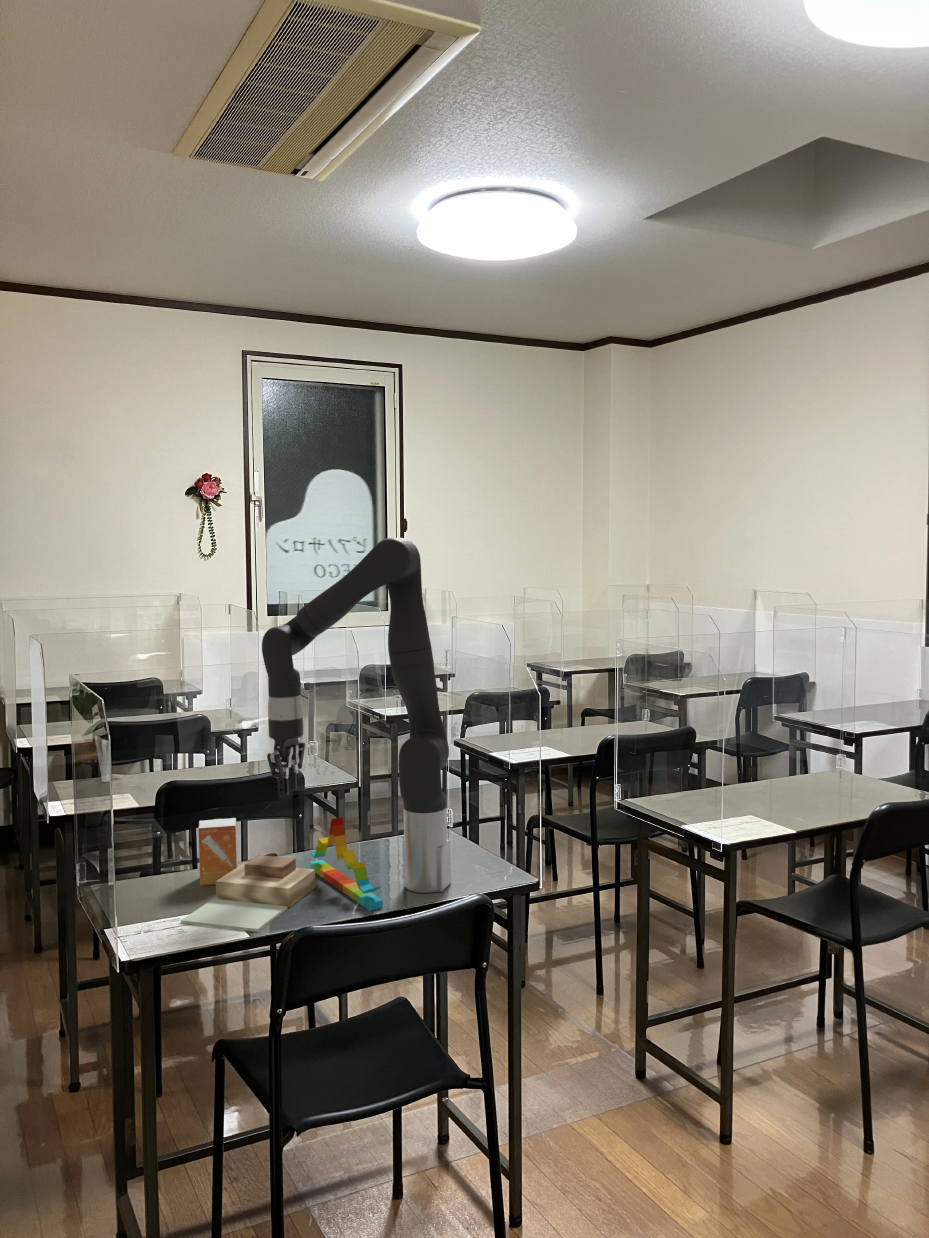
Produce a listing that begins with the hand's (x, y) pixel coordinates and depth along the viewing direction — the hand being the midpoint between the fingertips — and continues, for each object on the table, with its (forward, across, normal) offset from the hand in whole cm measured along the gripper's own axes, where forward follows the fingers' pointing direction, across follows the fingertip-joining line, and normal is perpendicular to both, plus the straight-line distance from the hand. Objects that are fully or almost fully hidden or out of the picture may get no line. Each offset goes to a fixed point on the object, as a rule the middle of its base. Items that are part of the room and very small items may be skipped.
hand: (287, 792), depth 219 cm
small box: (+19, -6, +14) cm, 25 cm away
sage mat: (+19, -24, 0) cm, 31 cm away
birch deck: (+19, -11, 0) cm, 22 cm away
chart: (+20, -3, -15) cm, 25 cm away
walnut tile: (+14, -9, 0) cm, 17 cm away
